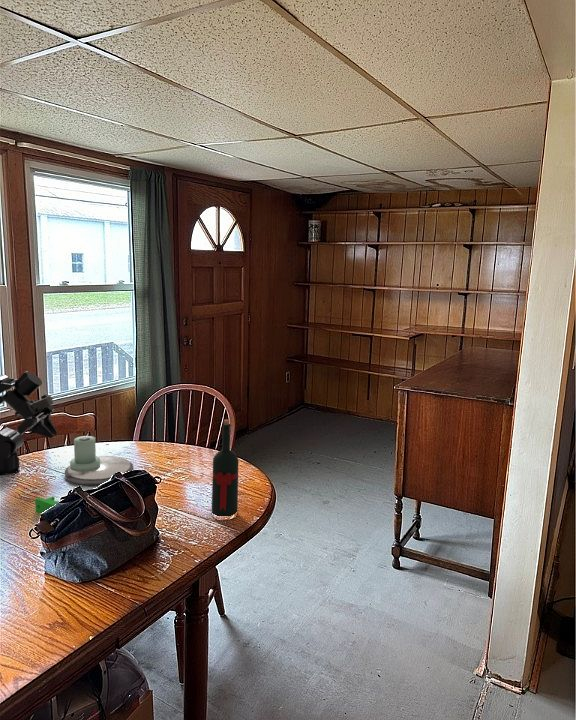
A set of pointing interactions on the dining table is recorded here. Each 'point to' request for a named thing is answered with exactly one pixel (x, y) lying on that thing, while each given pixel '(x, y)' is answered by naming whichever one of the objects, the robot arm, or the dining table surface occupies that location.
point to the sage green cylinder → (84, 454)
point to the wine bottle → (225, 478)
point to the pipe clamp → (44, 504)
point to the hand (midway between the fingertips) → (54, 435)
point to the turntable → (99, 471)
